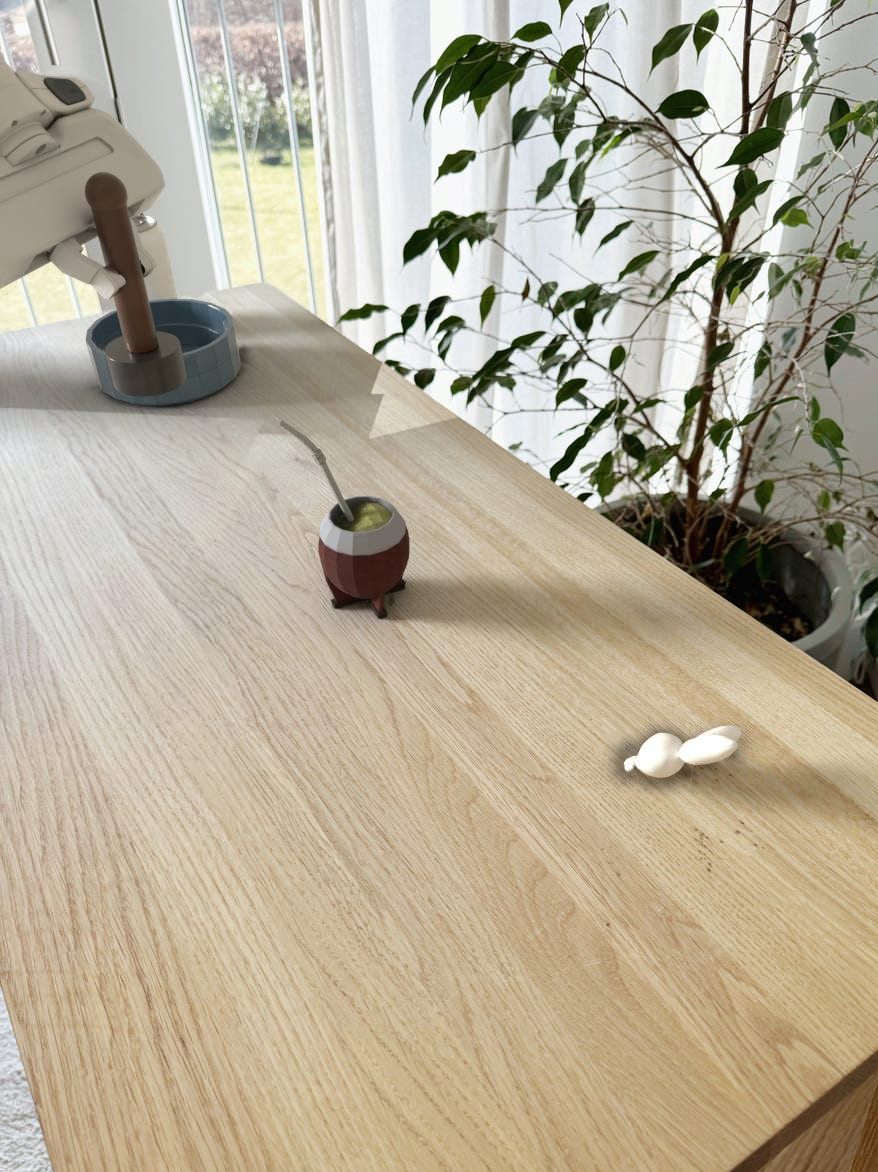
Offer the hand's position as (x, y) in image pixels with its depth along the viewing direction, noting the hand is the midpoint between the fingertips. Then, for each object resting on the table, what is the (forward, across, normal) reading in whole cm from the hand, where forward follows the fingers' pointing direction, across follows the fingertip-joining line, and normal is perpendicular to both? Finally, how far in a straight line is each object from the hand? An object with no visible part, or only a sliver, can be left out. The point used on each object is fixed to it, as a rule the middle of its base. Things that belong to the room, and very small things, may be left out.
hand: (133, 282), depth 79 cm
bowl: (+4, +20, +25) cm, 32 cm away
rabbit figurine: (+50, -16, -21) cm, 57 cm away
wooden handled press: (+6, 0, +6) cm, 8 cm away
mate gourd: (+30, -7, -1) cm, 31 cm away
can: (-3, +30, +31) cm, 44 cm away
